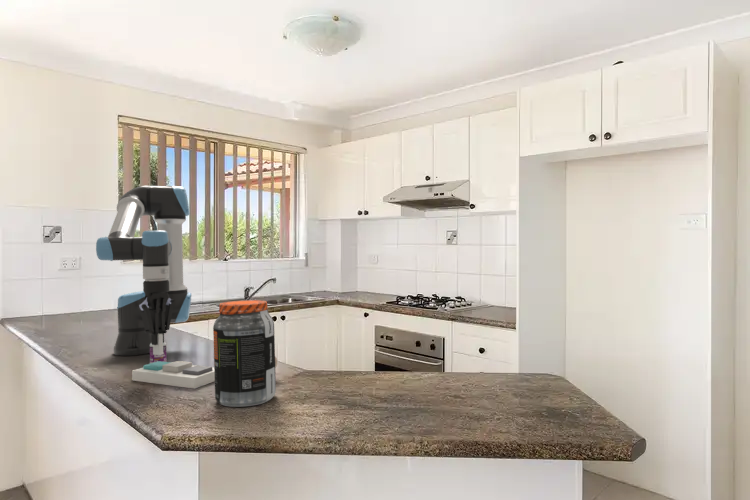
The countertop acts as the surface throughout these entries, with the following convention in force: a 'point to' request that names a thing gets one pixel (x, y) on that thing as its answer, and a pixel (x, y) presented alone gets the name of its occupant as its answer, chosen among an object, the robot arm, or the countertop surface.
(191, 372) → the charcoal key
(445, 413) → the countertop surface
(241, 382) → the supplement tub
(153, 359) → the pill bottle
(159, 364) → the teal key
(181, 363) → the grey key
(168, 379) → the keypad
